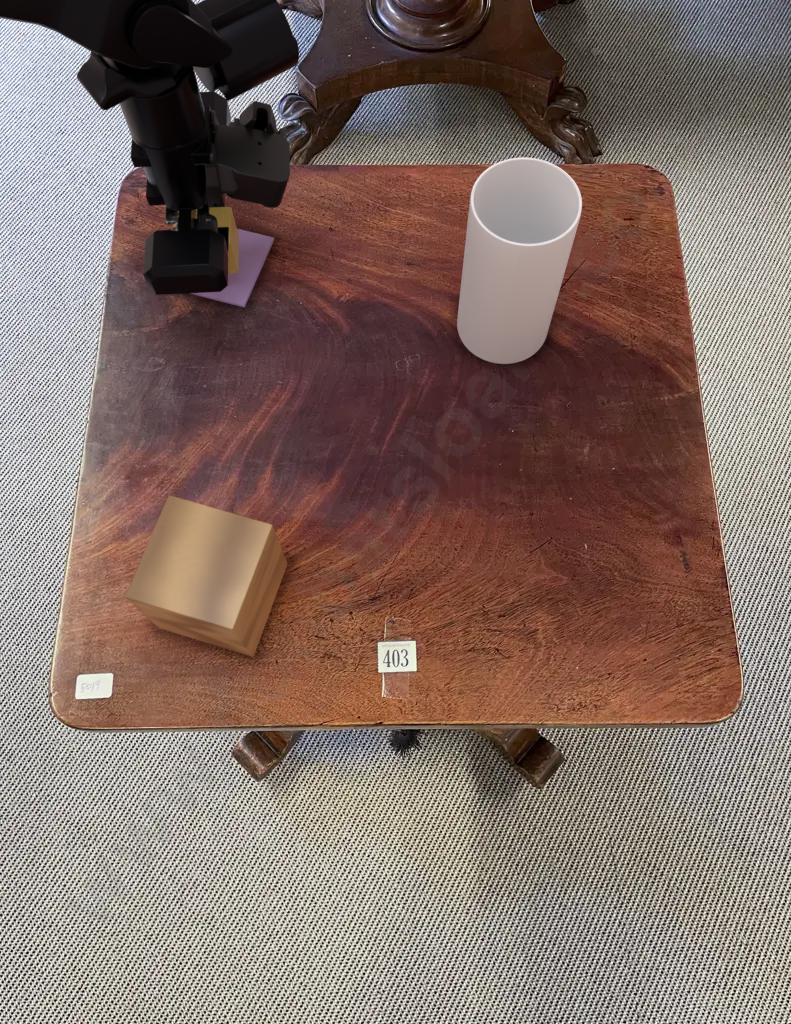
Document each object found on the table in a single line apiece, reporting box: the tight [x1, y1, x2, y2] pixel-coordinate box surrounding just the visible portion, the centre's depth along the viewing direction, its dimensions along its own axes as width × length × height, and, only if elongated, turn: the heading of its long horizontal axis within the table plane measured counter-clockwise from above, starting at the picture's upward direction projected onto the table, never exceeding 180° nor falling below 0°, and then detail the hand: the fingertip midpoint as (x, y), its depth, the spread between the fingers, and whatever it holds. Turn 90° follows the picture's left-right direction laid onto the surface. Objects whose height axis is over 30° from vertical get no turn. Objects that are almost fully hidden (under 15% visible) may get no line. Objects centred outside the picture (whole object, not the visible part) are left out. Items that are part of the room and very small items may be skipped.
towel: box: [189, 228, 275, 308], centre depth 80 cm, size 8×8×1 cm
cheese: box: [172, 206, 239, 273], centre depth 76 cm, size 5×4×4 cm
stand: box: [124, 494, 288, 658], centre depth 64 cm, size 8×8×9 cm
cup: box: [456, 156, 583, 365], centre depth 70 cm, size 8×8×16 cm
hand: (210, 256), depth 78 cm, fingers closed on cheese, 4 cm apart
